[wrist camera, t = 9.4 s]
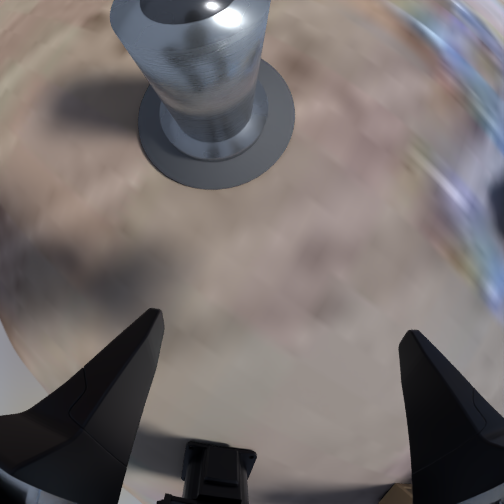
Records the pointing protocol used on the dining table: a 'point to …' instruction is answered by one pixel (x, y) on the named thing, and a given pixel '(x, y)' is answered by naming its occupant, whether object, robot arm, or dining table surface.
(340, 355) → the dining table surface
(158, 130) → the rubber pad
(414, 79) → the dining table surface
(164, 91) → the grey metal flared cylinder
